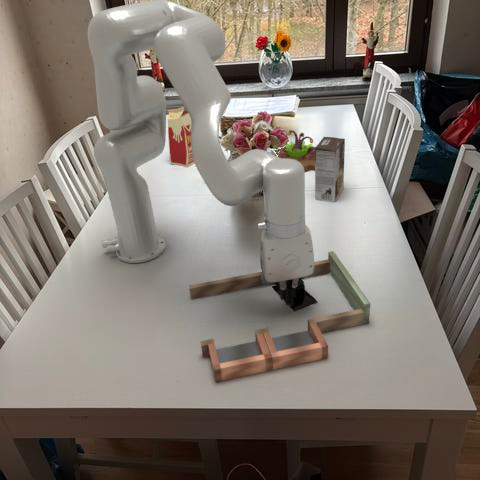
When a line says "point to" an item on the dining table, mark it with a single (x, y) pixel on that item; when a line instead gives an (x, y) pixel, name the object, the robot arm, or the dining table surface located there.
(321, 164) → the coffee box
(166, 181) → the dining table surface
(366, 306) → the track
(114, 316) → the dining table surface
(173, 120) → the milk carton
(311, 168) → the plant
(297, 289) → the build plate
